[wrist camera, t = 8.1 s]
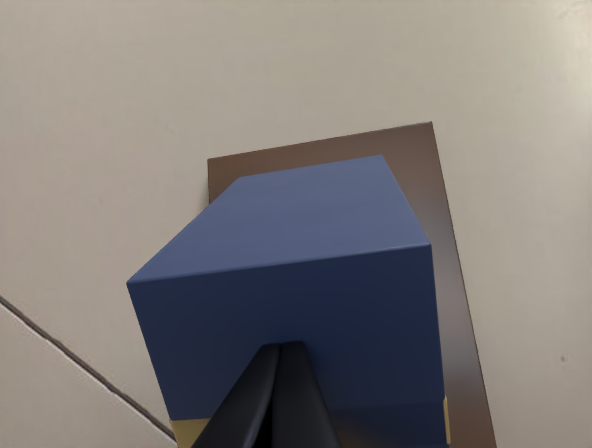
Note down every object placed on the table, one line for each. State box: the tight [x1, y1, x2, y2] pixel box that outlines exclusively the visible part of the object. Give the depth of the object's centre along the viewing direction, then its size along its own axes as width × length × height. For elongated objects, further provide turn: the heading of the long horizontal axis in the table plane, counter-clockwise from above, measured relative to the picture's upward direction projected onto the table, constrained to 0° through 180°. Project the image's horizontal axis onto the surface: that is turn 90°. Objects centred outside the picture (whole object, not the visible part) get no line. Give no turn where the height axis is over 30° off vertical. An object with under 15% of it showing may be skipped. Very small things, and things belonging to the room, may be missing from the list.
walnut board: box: [207, 121, 497, 448], centre depth 20 cm, size 22×12×1 cm, turn 5°
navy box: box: [126, 155, 451, 448], centre depth 14 cm, size 10×6×8 cm
